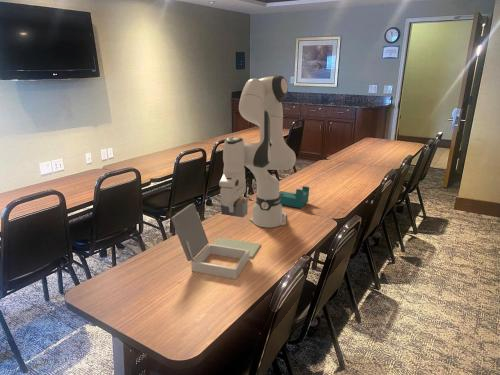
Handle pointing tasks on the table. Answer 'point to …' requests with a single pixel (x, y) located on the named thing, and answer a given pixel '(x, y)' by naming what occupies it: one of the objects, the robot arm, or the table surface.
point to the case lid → (190, 230)
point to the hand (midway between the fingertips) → (234, 209)
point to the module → (236, 208)
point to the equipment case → (217, 269)
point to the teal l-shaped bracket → (295, 197)
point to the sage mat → (239, 245)
